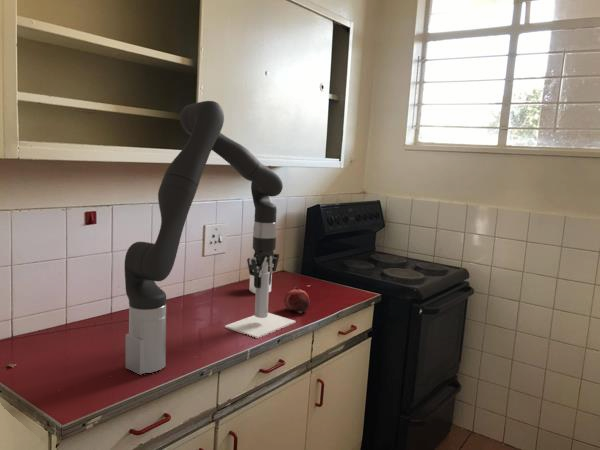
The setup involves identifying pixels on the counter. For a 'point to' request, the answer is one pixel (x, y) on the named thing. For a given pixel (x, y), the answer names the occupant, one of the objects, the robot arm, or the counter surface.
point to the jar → (253, 284)
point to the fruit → (297, 300)
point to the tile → (260, 325)
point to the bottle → (262, 294)
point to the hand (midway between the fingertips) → (262, 286)
